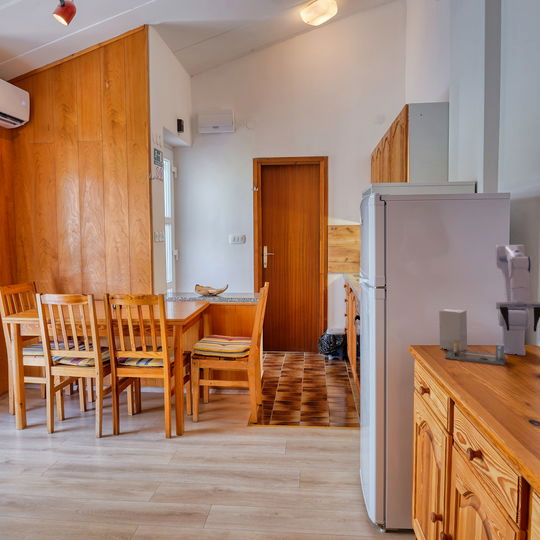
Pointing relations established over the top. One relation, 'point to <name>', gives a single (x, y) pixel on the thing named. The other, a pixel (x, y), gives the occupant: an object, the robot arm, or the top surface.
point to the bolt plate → (472, 355)
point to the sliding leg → (499, 350)
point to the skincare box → (453, 328)
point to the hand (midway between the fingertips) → (521, 330)
